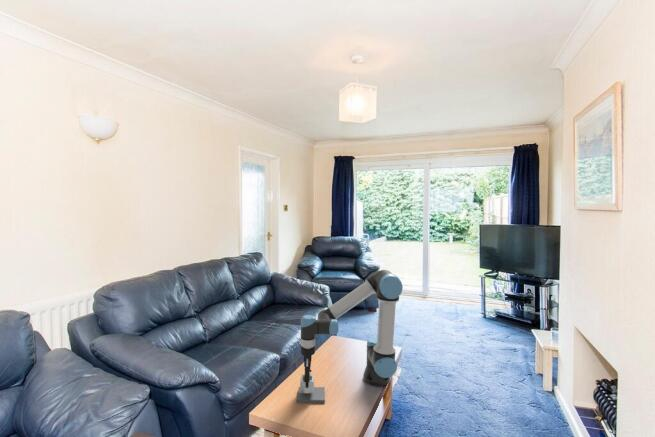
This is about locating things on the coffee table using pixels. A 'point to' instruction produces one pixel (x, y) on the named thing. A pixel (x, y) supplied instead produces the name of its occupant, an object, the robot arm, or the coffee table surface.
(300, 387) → the steel collar
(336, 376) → the coffee table surface
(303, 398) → the keeper plate
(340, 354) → the coffee table surface
